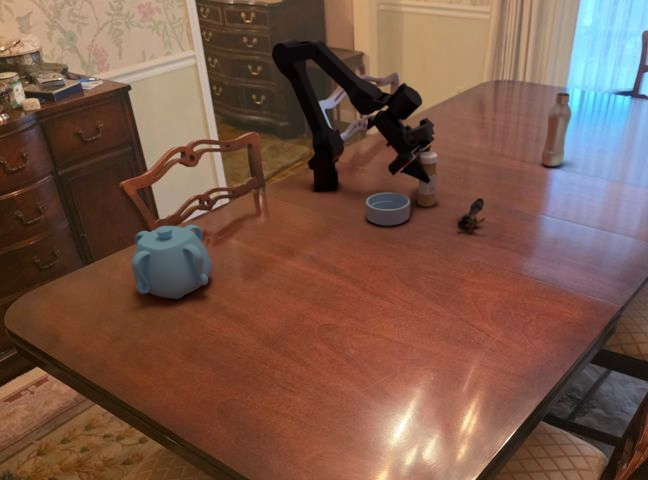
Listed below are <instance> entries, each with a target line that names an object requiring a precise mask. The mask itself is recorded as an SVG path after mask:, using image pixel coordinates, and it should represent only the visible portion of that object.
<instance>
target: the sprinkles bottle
mask: <svg viewBox="0 0 648 480" xmlns="http://www.w3.org/2000/svg"><path fill="white" fill-rule="evenodd" d="M437 163H438V153H436V152H434V151H430V152H423V153H421V154H420V164H421V166H422V167H423V169H424V170H425V172H426V173H427V175H428V177H429V178H430V180H431V181H430V182H429V183H428V184H427V183H425V182H423V181H421V180H419V179H418V201H417V204H418V205H420V206H421V207H432V206H434V205H435V203H436V201H435V198H436V187H437V186H436V185H437V175H436V173H437Z"/></svg>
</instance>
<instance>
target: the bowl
mask: <svg viewBox="0 0 648 480" xmlns="http://www.w3.org/2000/svg"><path fill="white" fill-rule="evenodd" d="M365 217H366V219H367V220H368V221H369V222H370V223H373V224H375V225H378V226H383V227H391V226H397V225H400V224H403V223H405V222H406V221H408V220H409V218H410V217H411V199H410V198H409V197H408V196H407V195H405V194H402V193H397V192H378V193H375V194H372V195H370V196H369V197H367V198H366V200H365Z"/></svg>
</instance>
